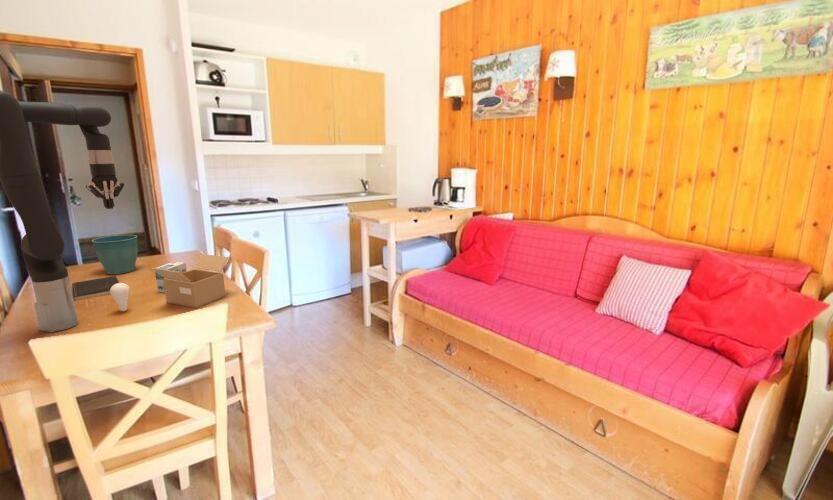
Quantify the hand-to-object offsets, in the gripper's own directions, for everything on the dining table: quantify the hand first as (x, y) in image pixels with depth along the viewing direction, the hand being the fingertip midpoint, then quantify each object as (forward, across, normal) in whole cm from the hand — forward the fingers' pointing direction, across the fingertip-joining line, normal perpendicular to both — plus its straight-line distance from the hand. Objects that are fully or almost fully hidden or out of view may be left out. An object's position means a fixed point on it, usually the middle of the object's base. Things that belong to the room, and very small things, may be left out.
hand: (109, 208), depth 157 cm
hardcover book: (+38, +3, +24) cm, 44 cm away
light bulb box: (+37, +16, -7) cm, 41 cm away
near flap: (+23, +1, -28) cm, 37 cm away
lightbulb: (+37, -9, -13) cm, 40 cm away
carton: (+37, +10, -28) cm, 47 cm away
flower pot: (+37, +24, +42) cm, 61 cm away
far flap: (+23, +19, -28) cm, 41 cm away
